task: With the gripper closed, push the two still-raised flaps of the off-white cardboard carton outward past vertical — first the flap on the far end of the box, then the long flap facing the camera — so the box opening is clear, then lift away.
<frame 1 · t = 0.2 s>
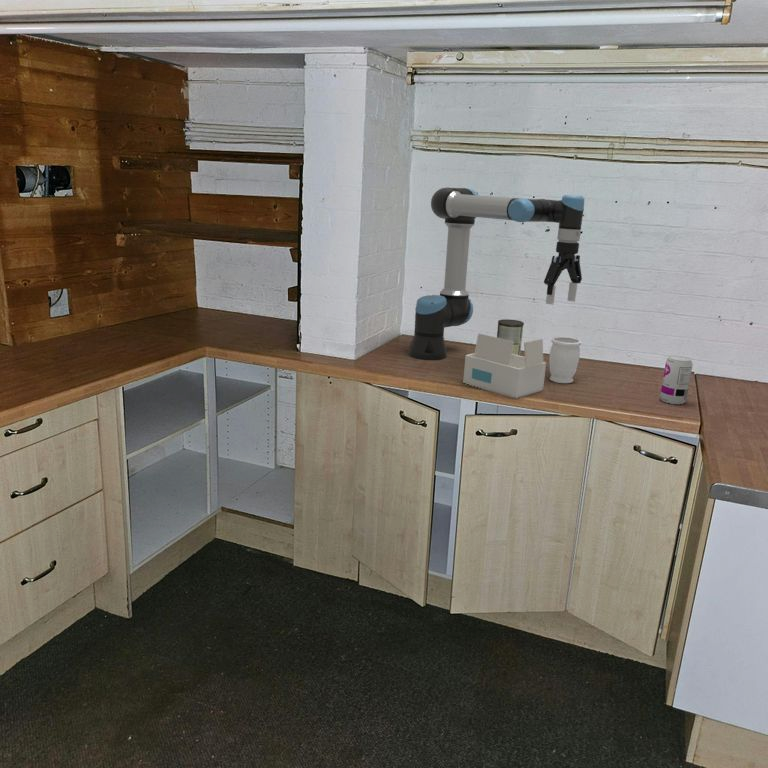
hand: (560, 302, 246), 28 cm above the table, fingers open, 13 cm apart
coffee can: (507, 356, 285), on the table
jar: (561, 381, 252), on the table
front flap: (493, 349, 230), point 14 cm above the table, hinge at 80.0°
carton: (502, 386, 240), on the table
supplement can: (672, 402, 233), on the table
end flap: (533, 352, 229), point 14 cm above the table, hinge at 80.0°
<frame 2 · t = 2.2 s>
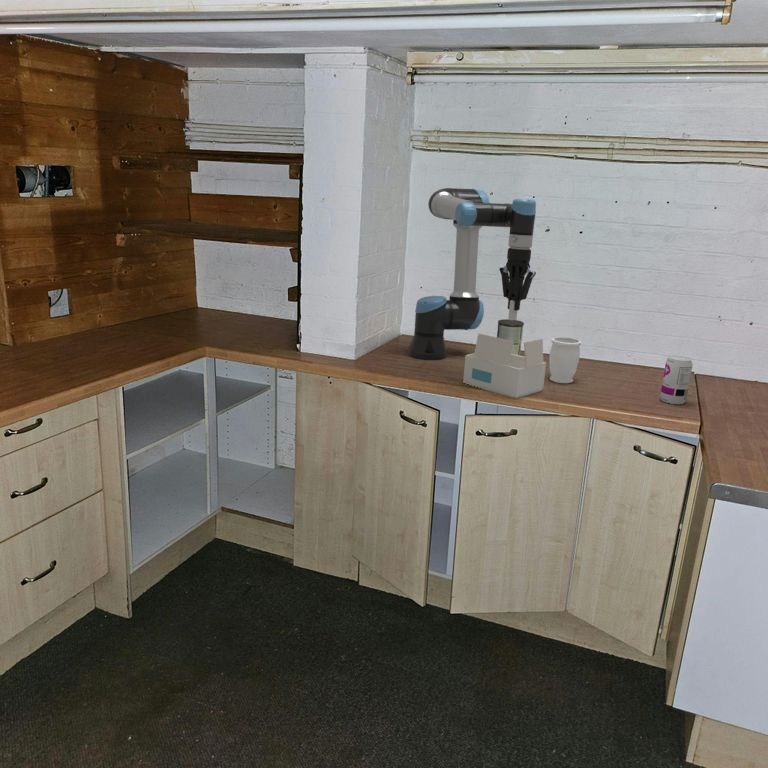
hand: (512, 319, 232), 24 cm above the table, fingers closed
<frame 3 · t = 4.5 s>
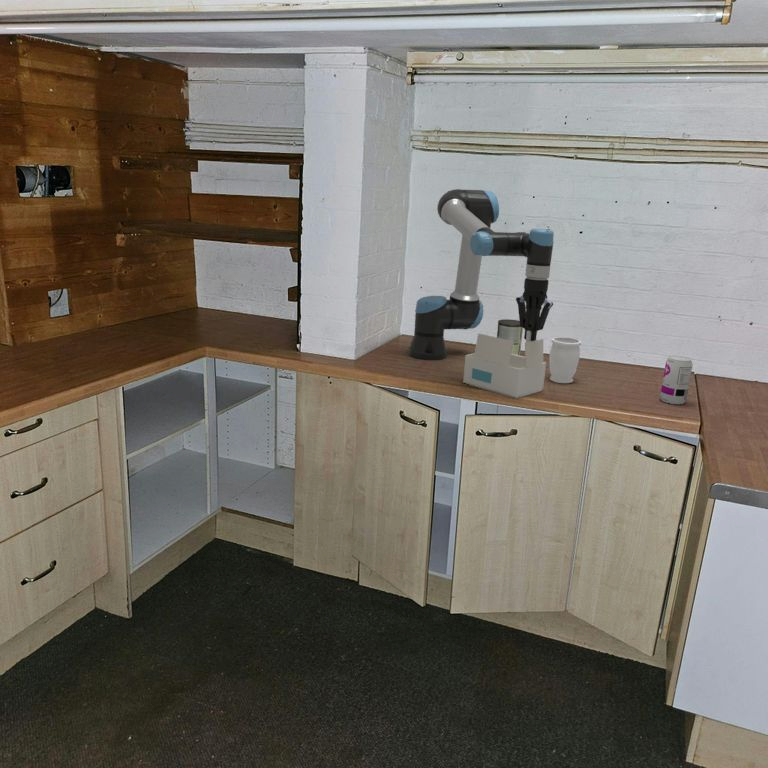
hand: (528, 349, 230), 15 cm above the table, fingers closed
end flap: (534, 352, 228), point 14 cm above the table, hinge at 82.3°, touching gripper
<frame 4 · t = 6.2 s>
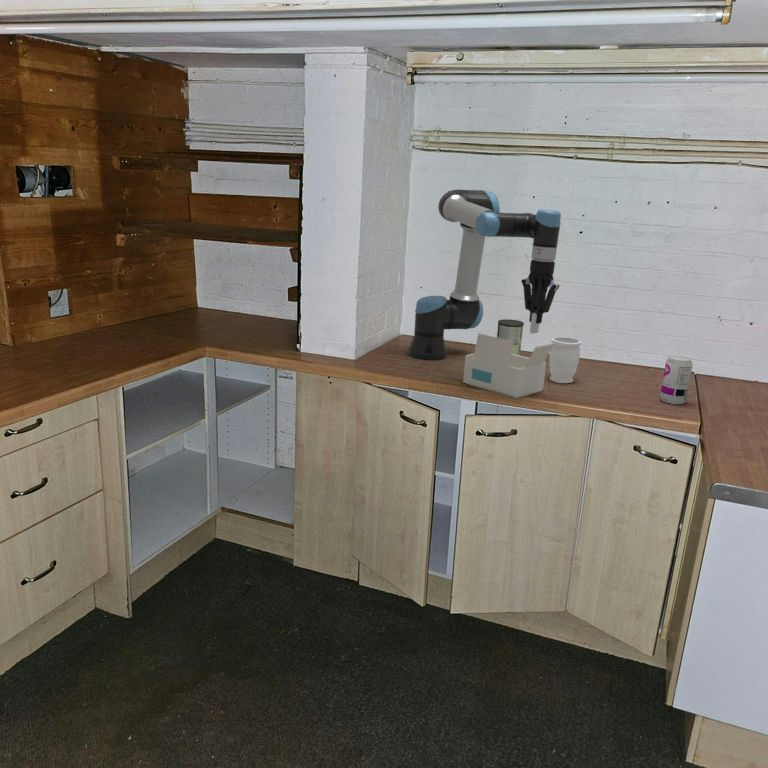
hand: (534, 332, 227), 21 cm above the table, fingers closed
end flap: (539, 355, 227), point 14 cm above the table, hinge at 113.0°
everything else where it was.
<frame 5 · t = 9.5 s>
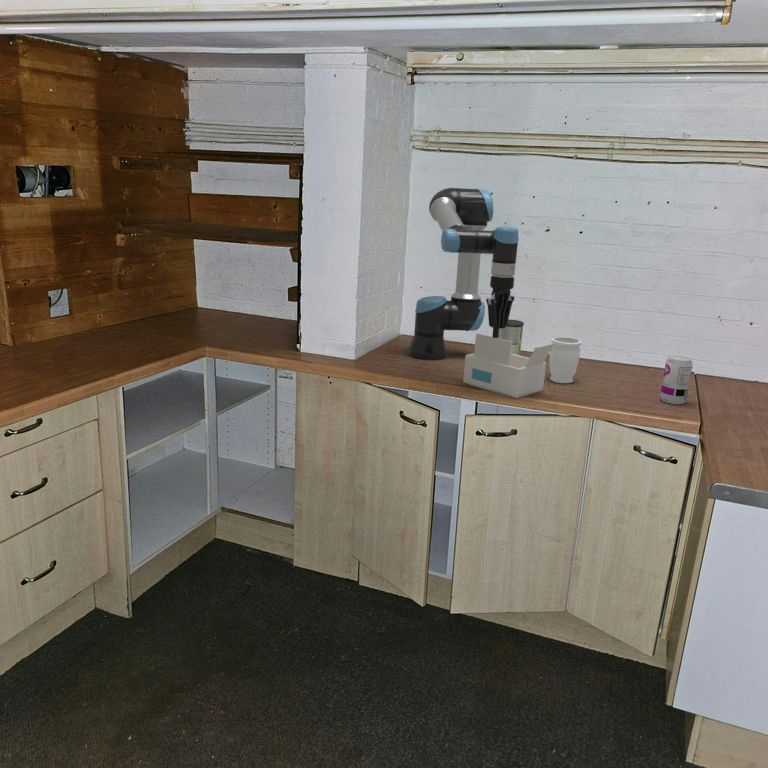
hand: (496, 347, 231), 15 cm above the table, fingers closed
front flap: (492, 349, 230), point 14 cm above the table, hinge at 88.0°, touching gripper
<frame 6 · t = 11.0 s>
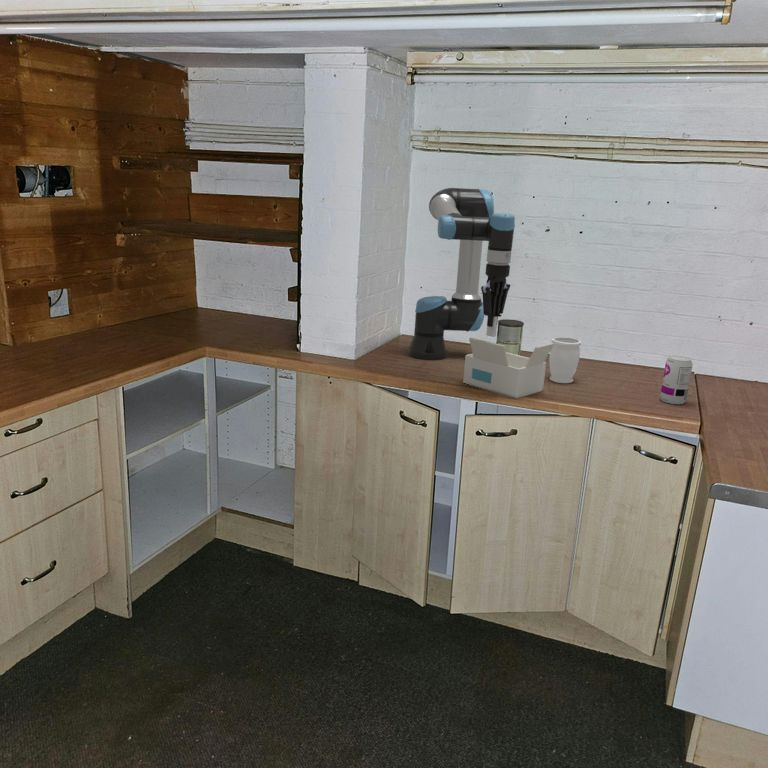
hand: (491, 335, 228), 19 cm above the table, fingers closed
front flap: (488, 351, 229), point 14 cm above the table, hinge at 116.4°
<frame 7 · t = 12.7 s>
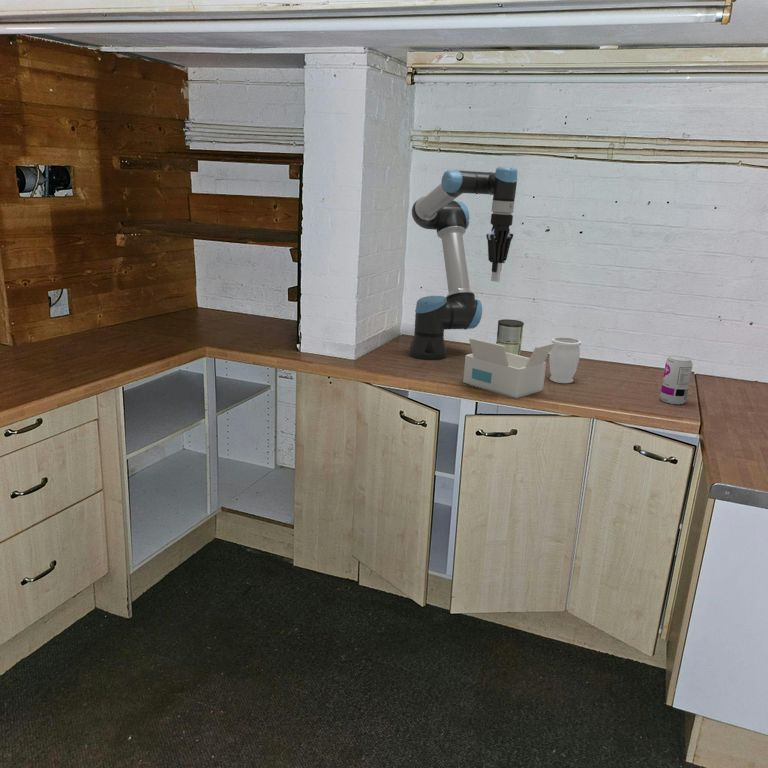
hand: (495, 281, 249), 34 cm above the table, fingers closed
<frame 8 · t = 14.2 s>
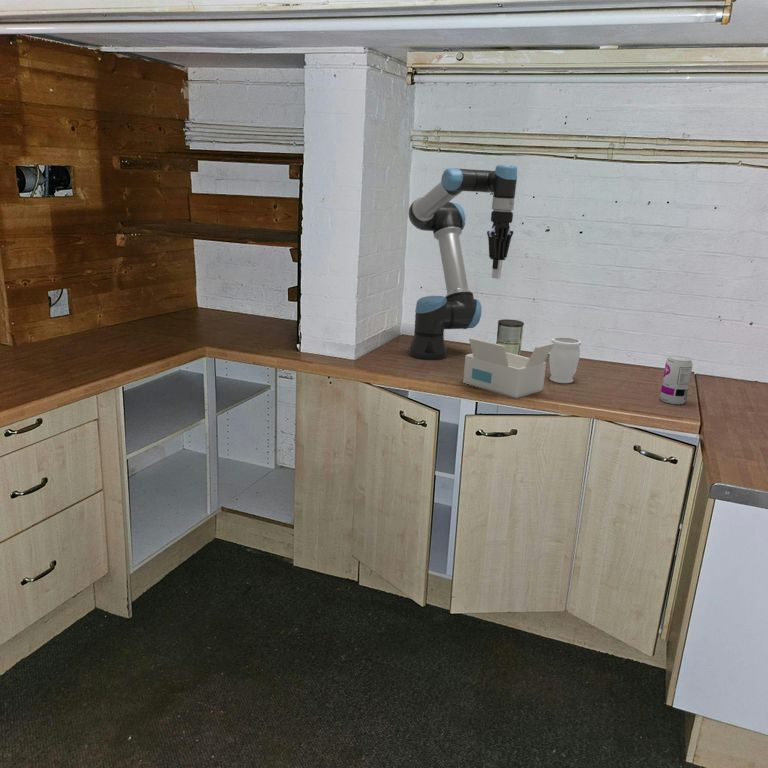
hand: (496, 278, 251), 34 cm above the table, fingers closed
at the end: end flap at +113° (first picture: +80°); front flap at +117° (first picture: +80°) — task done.
